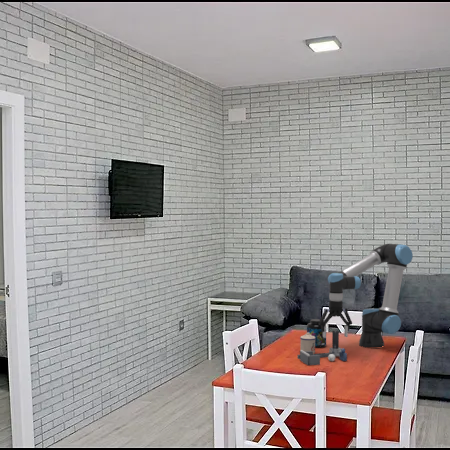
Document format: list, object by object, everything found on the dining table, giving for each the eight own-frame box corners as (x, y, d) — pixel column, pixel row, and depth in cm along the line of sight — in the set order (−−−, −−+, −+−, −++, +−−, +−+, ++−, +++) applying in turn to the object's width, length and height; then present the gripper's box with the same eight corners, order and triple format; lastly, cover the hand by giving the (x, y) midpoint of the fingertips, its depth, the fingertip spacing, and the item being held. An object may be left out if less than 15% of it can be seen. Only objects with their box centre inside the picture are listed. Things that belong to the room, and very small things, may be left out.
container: (326, 344, 379) (326, 318, 378) (326, 349, 367) (326, 322, 366) (307, 343, 381) (307, 317, 380) (306, 348, 369) (306, 322, 368)
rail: (340, 355, 350) (340, 352, 350) (342, 356, 348) (342, 352, 348) (297, 358, 343) (297, 354, 343) (298, 358, 341) (298, 355, 341)
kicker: (338, 354, 350) (338, 329, 350) (350, 360, 336) (350, 334, 336) (329, 355, 349) (329, 330, 348) (340, 361, 335) (340, 335, 334)
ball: (333, 360, 339) (333, 353, 339) (336, 361, 335) (336, 354, 335) (326, 360, 338) (326, 353, 338) (329, 362, 334) (329, 355, 334)
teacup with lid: (314, 354, 351) (314, 334, 351) (298, 353, 354) (299, 333, 354) (317, 350, 363) (317, 330, 363) (302, 349, 365) (302, 329, 365)
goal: (311, 359, 339) (311, 349, 339) (320, 364, 328) (320, 354, 328) (300, 360, 337) (300, 350, 337) (307, 365, 326) (308, 354, 326)
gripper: (352, 298, 354) (351, 334, 354) (313, 299, 347) (312, 336, 348) (358, 300, 347) (357, 337, 347) (318, 301, 340) (317, 339, 340)
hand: (335, 337), depth 347 cm, fingers open, 13 cm apart
